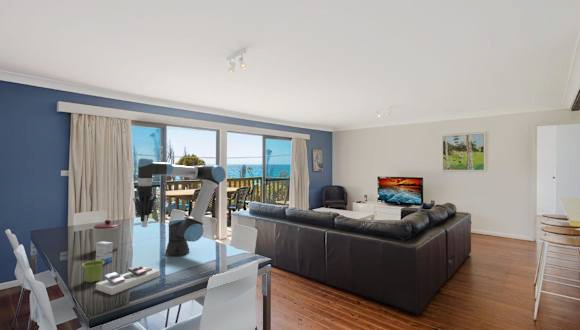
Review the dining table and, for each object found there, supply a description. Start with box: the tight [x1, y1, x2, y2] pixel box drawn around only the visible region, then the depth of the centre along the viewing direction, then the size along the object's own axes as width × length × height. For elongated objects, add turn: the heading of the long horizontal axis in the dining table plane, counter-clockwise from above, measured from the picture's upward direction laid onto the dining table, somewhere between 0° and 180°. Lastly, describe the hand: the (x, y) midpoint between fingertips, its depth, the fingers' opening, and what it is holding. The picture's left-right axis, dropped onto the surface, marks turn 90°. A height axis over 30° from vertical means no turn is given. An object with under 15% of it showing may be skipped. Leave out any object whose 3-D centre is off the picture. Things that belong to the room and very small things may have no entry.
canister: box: [91, 219, 123, 251], centre depth 199 cm, size 18×18×21 cm
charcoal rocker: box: [127, 264, 147, 276], centre depth 148 cm, size 8×5×3 cm, turn 64°
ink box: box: [95, 241, 114, 264], centre depth 175 cm, size 9×5×12 cm, turn 71°
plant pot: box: [81, 260, 105, 283], centre depth 146 cm, size 9×9×9 cm
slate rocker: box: [104, 271, 125, 285], centre depth 137 cm, size 8×5×3 cm, turn 64°
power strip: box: [95, 266, 161, 296], centre depth 144 cm, size 12×26×3 cm, turn 154°
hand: (144, 226), depth 162 cm, fingers closed
